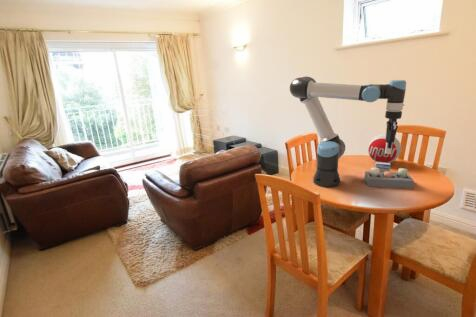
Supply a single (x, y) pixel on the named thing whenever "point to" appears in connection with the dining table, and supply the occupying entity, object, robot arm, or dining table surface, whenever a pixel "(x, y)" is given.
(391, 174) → the peach egg
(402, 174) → the pale green egg
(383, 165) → the medicine box
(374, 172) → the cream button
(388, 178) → the grey slotted tray
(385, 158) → the red logo ball
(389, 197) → the dining table surface
